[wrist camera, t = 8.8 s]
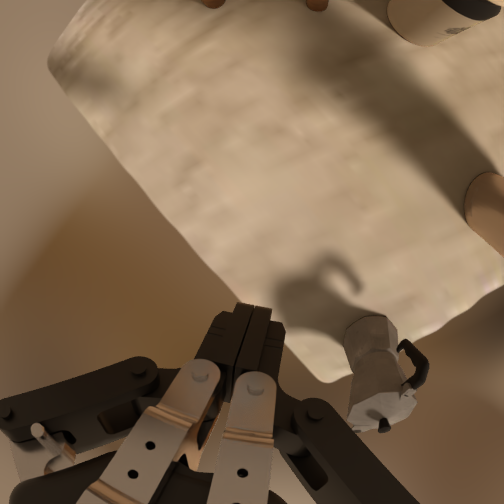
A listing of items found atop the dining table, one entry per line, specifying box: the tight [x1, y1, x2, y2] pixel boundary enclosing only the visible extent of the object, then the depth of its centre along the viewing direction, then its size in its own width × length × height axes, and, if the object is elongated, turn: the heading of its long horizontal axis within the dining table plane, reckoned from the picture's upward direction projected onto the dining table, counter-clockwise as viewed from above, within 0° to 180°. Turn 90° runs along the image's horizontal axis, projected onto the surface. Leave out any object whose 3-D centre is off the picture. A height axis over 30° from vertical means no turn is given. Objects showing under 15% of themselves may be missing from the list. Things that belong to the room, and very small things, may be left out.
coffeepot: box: [343, 316, 429, 433], centre depth 33 cm, size 15×9×18 cm, turn 159°
